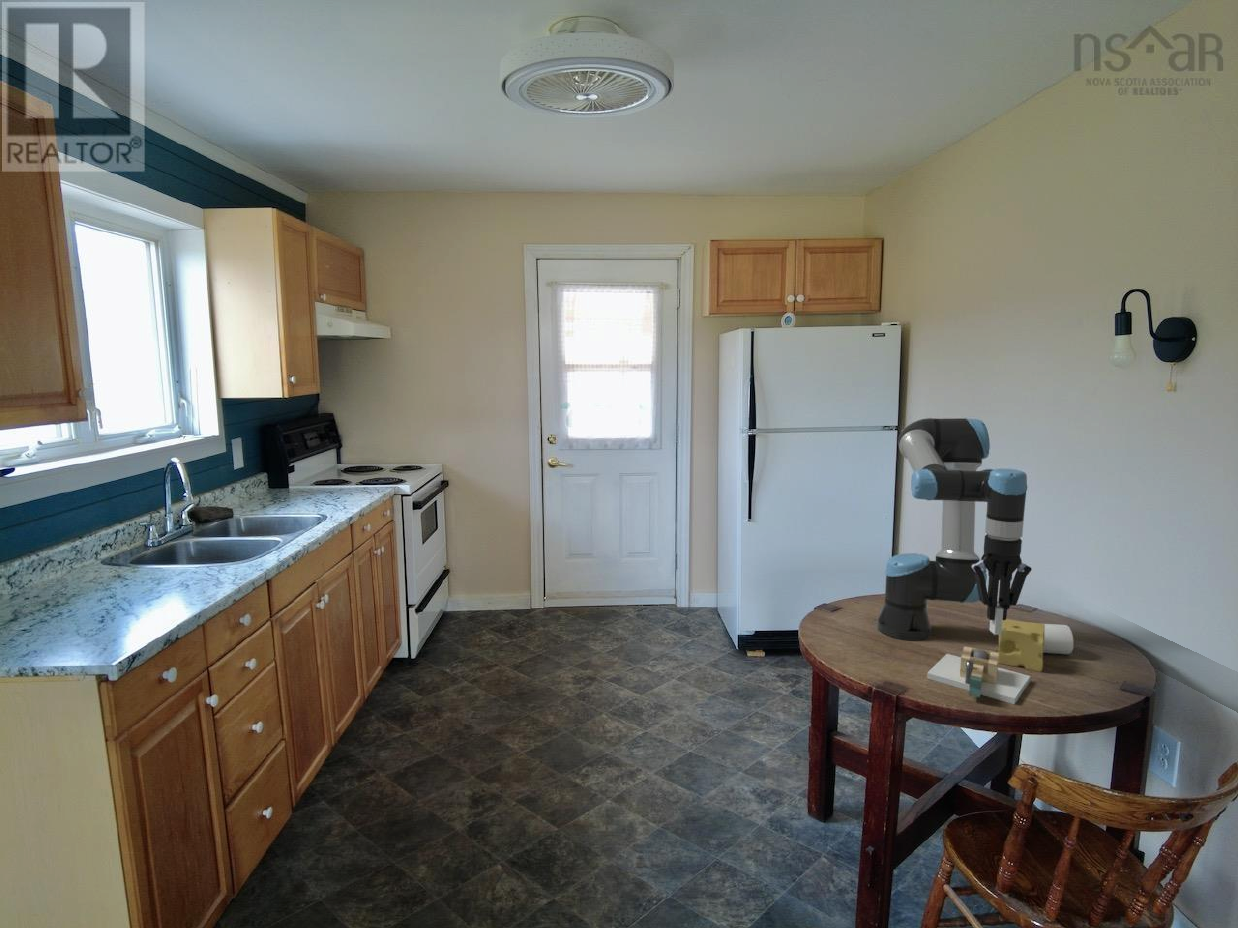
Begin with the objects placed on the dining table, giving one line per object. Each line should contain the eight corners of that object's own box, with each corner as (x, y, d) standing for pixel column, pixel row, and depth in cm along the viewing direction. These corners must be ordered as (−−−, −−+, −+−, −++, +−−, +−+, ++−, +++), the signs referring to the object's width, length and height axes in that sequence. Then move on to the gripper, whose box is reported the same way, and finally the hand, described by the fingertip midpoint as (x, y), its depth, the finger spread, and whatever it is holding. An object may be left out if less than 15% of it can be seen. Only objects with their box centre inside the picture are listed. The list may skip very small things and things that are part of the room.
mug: (1072, 659, 183) (1075, 631, 182) (1032, 656, 185) (1034, 628, 184) (1053, 641, 195) (1056, 615, 194) (1016, 639, 197) (1018, 613, 196)
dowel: (964, 683, 167) (965, 662, 166) (966, 681, 168) (967, 660, 167) (970, 684, 166) (972, 663, 165) (972, 682, 167) (973, 662, 166)
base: (926, 678, 173) (928, 650, 172) (946, 658, 184) (948, 632, 183) (1014, 704, 159) (1016, 674, 158) (1029, 681, 171) (1032, 653, 169)
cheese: (1042, 673, 175) (1045, 636, 174) (995, 663, 181) (998, 628, 180) (1042, 658, 184) (1045, 623, 183) (998, 649, 190) (1000, 616, 188)
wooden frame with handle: (962, 664, 177) (964, 646, 176) (997, 671, 173) (998, 652, 172) (955, 691, 162) (957, 672, 162) (993, 700, 158) (994, 680, 157)
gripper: (1024, 532, 158) (1016, 626, 162) (967, 531, 159) (960, 625, 163) (1041, 540, 151) (1032, 639, 154) (981, 540, 152) (973, 638, 156)
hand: (995, 632), depth 159 cm, fingers closed
